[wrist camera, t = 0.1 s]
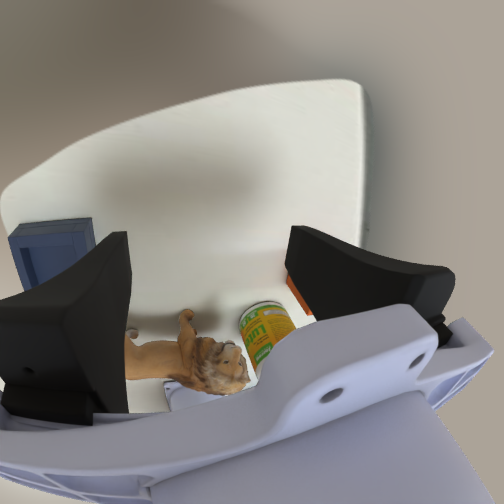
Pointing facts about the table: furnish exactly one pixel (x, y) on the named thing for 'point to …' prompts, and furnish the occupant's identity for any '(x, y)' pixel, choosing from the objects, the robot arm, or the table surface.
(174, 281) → the table surface
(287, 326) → the supplement bottle
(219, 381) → the lion figurine
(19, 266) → the blue square tray
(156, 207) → the table surface
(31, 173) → the table surface
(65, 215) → the table surface
